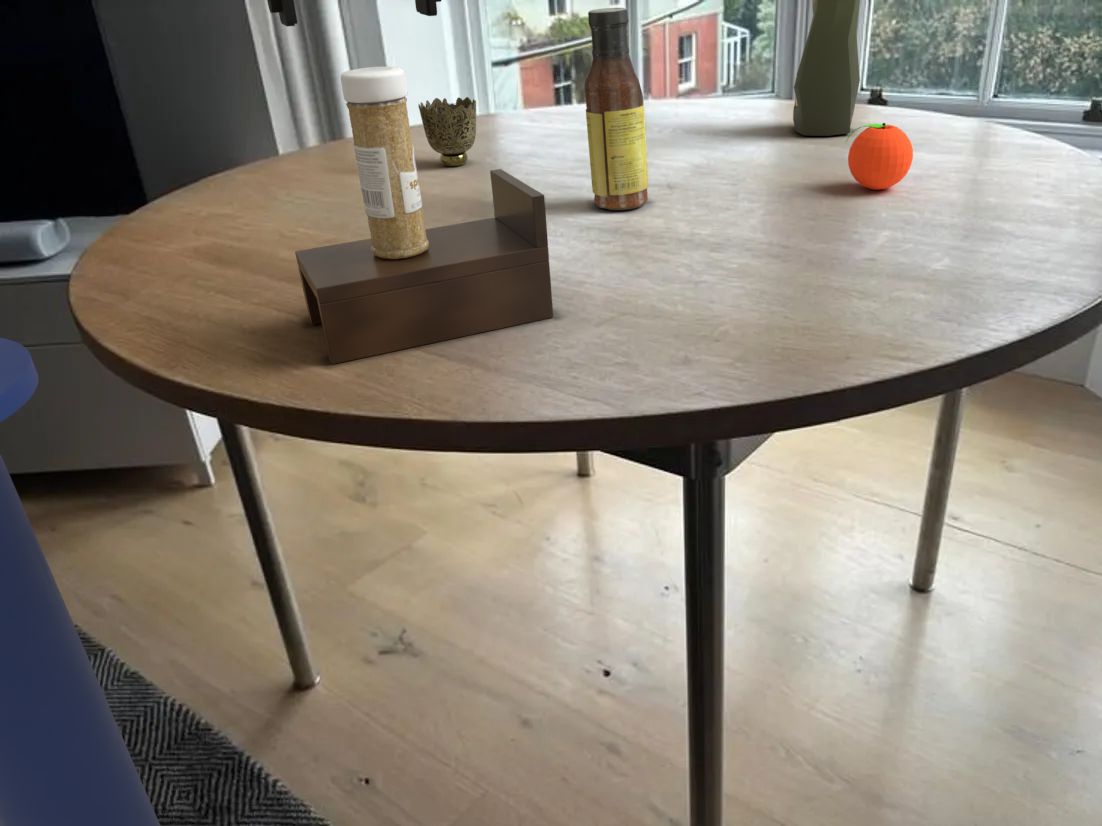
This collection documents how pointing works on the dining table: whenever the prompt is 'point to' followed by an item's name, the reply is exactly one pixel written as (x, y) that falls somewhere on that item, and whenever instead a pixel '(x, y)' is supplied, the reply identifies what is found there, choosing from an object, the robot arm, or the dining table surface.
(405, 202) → the sprinkles bottle
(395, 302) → the shelf
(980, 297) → the dining table surface
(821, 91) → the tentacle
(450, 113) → the cup
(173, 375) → the dining table surface
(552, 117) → the dining table surface
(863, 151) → the clementine
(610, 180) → the sauce bottle
